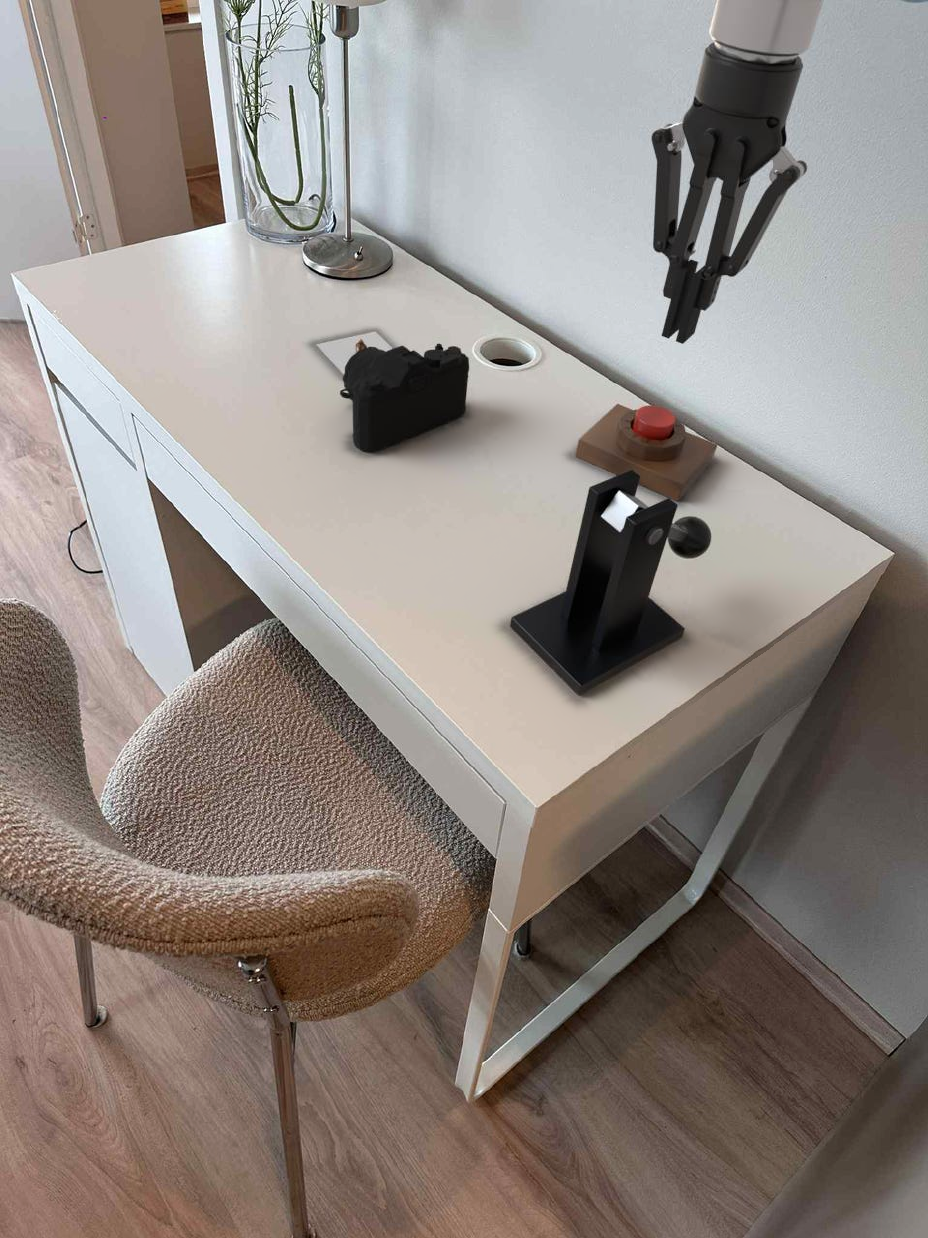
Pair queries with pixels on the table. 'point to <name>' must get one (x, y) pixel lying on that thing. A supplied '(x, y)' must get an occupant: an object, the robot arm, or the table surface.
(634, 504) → the switch lever
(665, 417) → the button
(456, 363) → the film camera
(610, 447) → the brown button base
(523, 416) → the table surface
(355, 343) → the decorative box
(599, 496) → the black lever stand
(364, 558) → the table surface
